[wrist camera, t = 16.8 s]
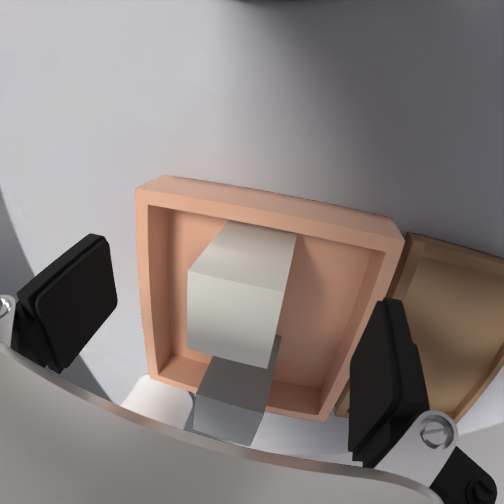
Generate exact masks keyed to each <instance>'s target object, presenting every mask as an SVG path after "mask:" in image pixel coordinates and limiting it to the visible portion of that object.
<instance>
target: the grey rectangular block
mask: <svg viewBox="0 0 504 504" xmlns="http://www.w3.org/2000/svg"><path fill="white" fill-rule="evenodd" d="M281 337H282V336H280V335H276V334H275V339H274V343H273V347H272V351H271V355H270V359H269V363H268V367H267V369H266V368H261V367H257V366H253V365H248V364H244V363H240V362H236V361H232V360H228V359H224V358H220V357H217V356H213V357H212V359H211V361H210V363H209V366H208V368H207V370H206V372H205V374H204V377H203V379H202V381H201V383H200V385H199V388H198V390H197V392H196V396H195V407H194V419H193V430H196V431H199V432H202V433H205V434H208V435H211V436H214V437H217V438H221V439H224V440H228V441H231V442H235V443H238V444H242V445H246V446H250V445H251V443H252V441H253V439H254V436H255V434H256V432H257V429H258V427H259V425H260V422H261V420H262V417H263V415H264V412H265V408H266V404H267V399H268V395H269V391H270V387H271V382H272V378H273V374H274V369H275V365H276V360H277V356H278V351H279V346H280V342H281Z"/></svg>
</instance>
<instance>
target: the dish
mask: <svg viewBox="0 0 504 504" xmlns="http://www.w3.org/2000/svg"><path fill="white" fill-rule="evenodd" d="M135 212H136V246H137V265H138V280H139V293H140V304H141V314H142V324H143V333H144V341H145V348H146V356H147V363H148V370H149V376H150V379H153V380H156V381H159V382H162V383H165V384H168V385H171V386H174V387H177V388H180V389H183V390H186V391H189V392H192V393H196V392H197V390H198V388H199V385H200V383H201V381H202V379H203V377H204V374H205V372H206V370H207V368H208V366H209V363H210V361H211V359H212V357H213V355H209V354H205V353H202V352H198V351H195V350H191V349H188V348H187V281H188V270H189V269H190V267H191V266H192V265H193V264H194V262H195V261H196V260H197V259H198V257H199V256H200V255H201V254H202V252H203V251H204V250H205V249H206V247H207V246H208V245H209V244H210V243H211V241H212V240H213V239H214V238H215V236H216V235H217V234H218V233H219V232H220V230H221V229H222V228H223V227H224V225H225V224H226V223H227V222H228V221H229V219H230V220H235V221H240V222H245V223H250V224H255V225H260V226H265V227H270V228H275V229H280V230H285V231H290V232H295V233H297V238H296V243H295V248H294V253H293V258H292V263H291V267H290V272H289V277H288V282H287V286H286V291H285V296H284V300H283V304H282V309H281V313H280V317H279V322H278V326H277V330H276V335H280V336H282V337H281V342H280V346H279V351H278V356H277V360H276V365H275V369H274V374H273V378H272V382H271V387H270V391H269V395H268V399H267V404H266V408H265V412H270V413H274V414H279V415H284V416H289V417H295V418H300V419H306V420H312V421H318V422H325V421H326V420H327V418H328V416H329V414H330V413H331V411H332V409H333V407H334V405H335V404H336V402H337V400H338V398H339V396H340V394H341V392H342V390H343V388H344V387H345V385H346V383H347V381H348V379H349V377H350V361H351V358H352V355H353V353H354V351H355V349H356V347H357V345H358V343H359V341H360V338H361V336H362V334H363V332H364V330H365V327H366V325H367V323H368V321H369V318H370V316H371V314H372V312H373V309H374V307H375V304H376V302H377V301H378V300H379V301H382V300H383V298H384V297H385V296H386V293H387V291H388V288H389V286H390V283H391V280H392V278H393V275H394V272H395V269H396V267H397V264H398V261H399V258H400V255H401V252H402V249H403V246H404V243H405V240H404V238H403V236H402V235H401V233H400V231H399V229H398V228H397V226H396V224H395V223H394V221H393V219H392V218H389V217H385V216H381V215H376V214H372V213H368V212H364V211H359V210H355V209H351V208H346V207H342V206H337V205H333V204H328V203H323V202H319V201H314V200H309V199H304V198H299V197H294V196H289V195H284V194H279V193H273V192H268V191H262V190H257V189H251V188H245V187H240V186H234V185H228V184H222V183H215V182H209V181H203V180H196V179H189V178H182V177H175V176H168V175H163V176H160V177H158V178H156V179H154V180H152V181H150V182H148V183H146V184H144V185H141V186H139V187H137V188H135Z"/></svg>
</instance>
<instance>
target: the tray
mask: <svg viewBox="0 0 504 504" xmlns="http://www.w3.org/2000/svg"><path fill="white" fill-rule="evenodd" d="M385 297H388V298H393V299H398V300H401V301H402V303H403V306H404V310H405V314H406V317H407V321H408V325H409V329H410V333H411V337H412V342H413V343H415V344H416V345H417V348H418V351H419V356H420V360H421V364H422V369H423V374H424V379H425V384H426V389H427V394H428V400H429V405H430V410H437V411H441V412H443V413H445V414H447V415H448V416H449V417H450V418H451V419H452V420H453V421H454V423H455V424H457V423H458V422H459V420H460V419H461V418H462V417H463V416H464V415H465V414H466V413H467V411H468V410H469V409H470V408H471V407H472V405H473V404H474V403H475V402H476V401H477V399H478V398H479V397H480V396H481V395H482V393H483V392H484V391H485V389H486V388H487V387H488V386H489V384H490V383H491V382H492V380H493V379H494V378H495V376H496V375H497V373H498V372H499V371H500V369H501V368H502V366H503V365H504V258H501V257H498V256H494V255H491V254H488V253H484V252H481V251H478V250H474V249H471V248H467V247H463V246H460V245H456V244H453V243H449V242H445V241H442V240H438V239H434V238H430V237H427V236H423V235H419V234H415V233H411V232H408V233H407V236H406V239H405V243H404V246H403V249H402V252H401V255H400V258H399V261H398V264H397V267H396V269H395V272H394V275H393V278H392V280H391V283H390V286H389V288H388V291H387V293H386V296H385ZM349 404H350V377H349V379H348V381H347V383H346V385H345V387H344V388H343V390H342V392H341V394H340V396H339V398H338V400H337V402H336V404H335V415H334V416H338V417H346V418H349Z"/></svg>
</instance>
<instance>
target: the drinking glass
mask: <svg viewBox="0 0 504 504" xmlns="http://www.w3.org/2000/svg"><path fill="white" fill-rule="evenodd" d="M120 406H121V407H123V408H126V409H128V410H131V411H133V412H136V413H138V414H141V415H143V416H146V417H148V418H151V419H154V420H156V421H159V422H162V423H165V424H167V425H170V426H173V427H176V428H179V429H182V430H184V427H185V424H186V422H187V419H188V417H189V415H190V413H191V410H192V407H193V400H192V397H191V395H190V393H189V392H188V391H186V390H183V389H180V388H177V387H174V386H171V385H168V384H165V383H162V382H159V381H156V380H153V379H150V376H149V373H148V374H145V375H143V376H141V377H140V378H139V379H138V380H137V382H136V383H135V385H134V387H133V388H132V390H131V391H130V393H129V394H128V395H127V397H126V398H125V399H124V400H123V402H122V403H121V404H120Z"/></svg>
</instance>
